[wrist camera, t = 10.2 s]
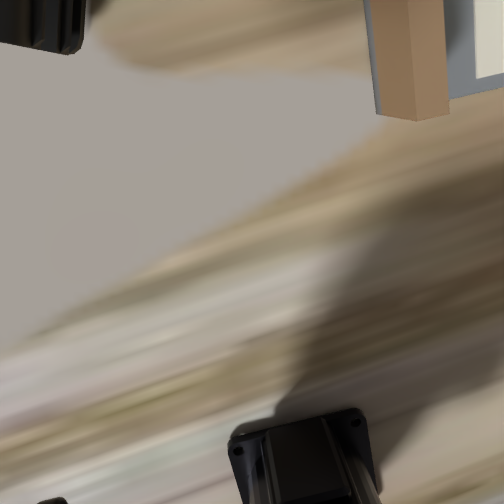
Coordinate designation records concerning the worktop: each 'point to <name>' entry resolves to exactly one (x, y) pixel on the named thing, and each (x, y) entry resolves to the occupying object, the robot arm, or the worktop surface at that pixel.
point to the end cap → (43, 24)
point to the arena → (433, 53)
